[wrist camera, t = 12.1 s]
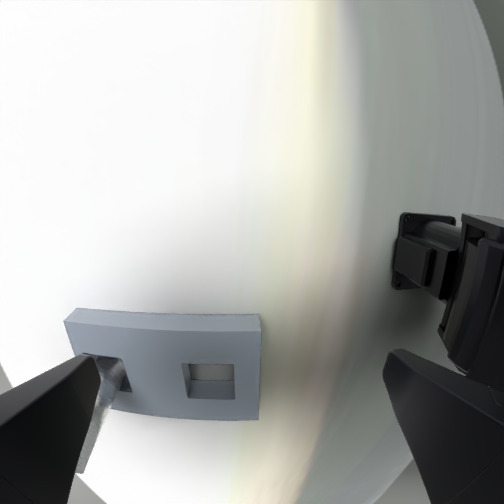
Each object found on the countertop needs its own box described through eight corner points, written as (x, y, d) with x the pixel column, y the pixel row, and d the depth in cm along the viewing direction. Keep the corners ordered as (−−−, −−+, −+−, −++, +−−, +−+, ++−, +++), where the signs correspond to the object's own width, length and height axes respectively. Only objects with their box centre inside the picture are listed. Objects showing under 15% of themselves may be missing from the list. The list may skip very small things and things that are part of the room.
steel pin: (131, 349, 21) (78, 460, 9) (131, 373, 22) (87, 478, 10) (102, 340, 21) (37, 439, 9) (103, 363, 22) (50, 460, 10)
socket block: (258, 314, 21) (261, 330, 18) (256, 401, 24) (258, 419, 21) (76, 307, 20) (63, 320, 18) (104, 390, 23) (96, 405, 20)
